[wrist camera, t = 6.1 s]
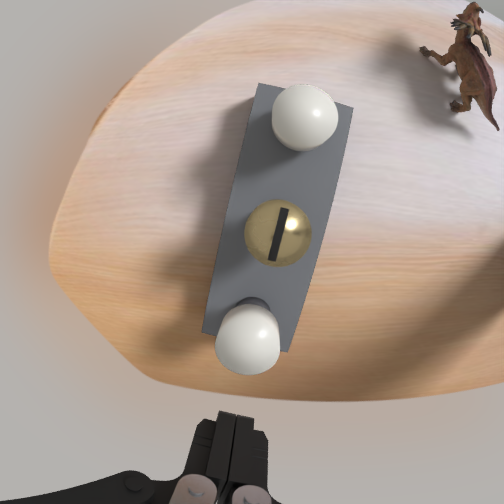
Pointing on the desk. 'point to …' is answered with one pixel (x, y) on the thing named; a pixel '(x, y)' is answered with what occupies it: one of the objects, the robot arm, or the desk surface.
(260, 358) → the cream knob
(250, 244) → the brass dial
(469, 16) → the dinosaur figurine
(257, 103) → the control strip
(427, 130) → the desk surface
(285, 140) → the cream knob
